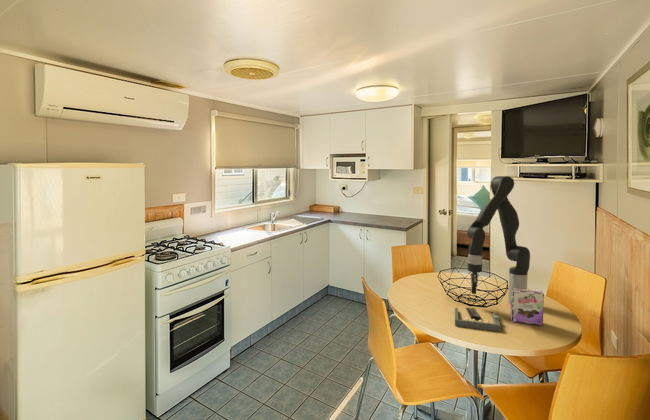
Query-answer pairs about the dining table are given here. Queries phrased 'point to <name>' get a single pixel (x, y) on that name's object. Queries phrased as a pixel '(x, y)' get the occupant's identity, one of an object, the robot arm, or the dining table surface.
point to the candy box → (527, 306)
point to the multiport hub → (473, 314)
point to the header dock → (478, 323)
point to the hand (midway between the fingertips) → (473, 293)
